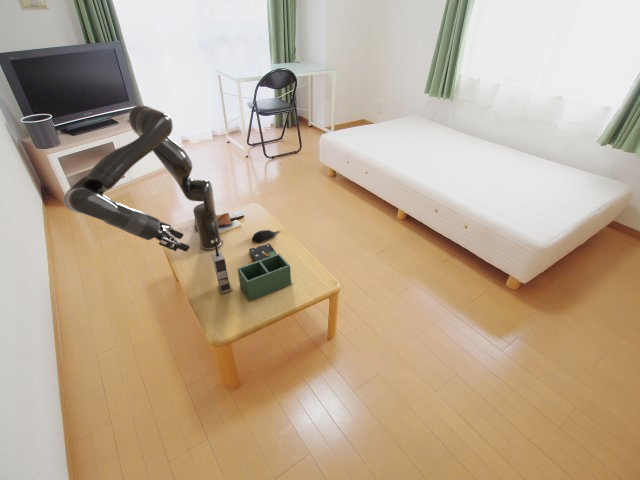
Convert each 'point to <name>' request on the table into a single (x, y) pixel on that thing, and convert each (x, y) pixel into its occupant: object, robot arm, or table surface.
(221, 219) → the sunglasses case
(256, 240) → the gaming mouse
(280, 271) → the caddy
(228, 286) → the vintage mobile phone
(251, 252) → the disk drive
